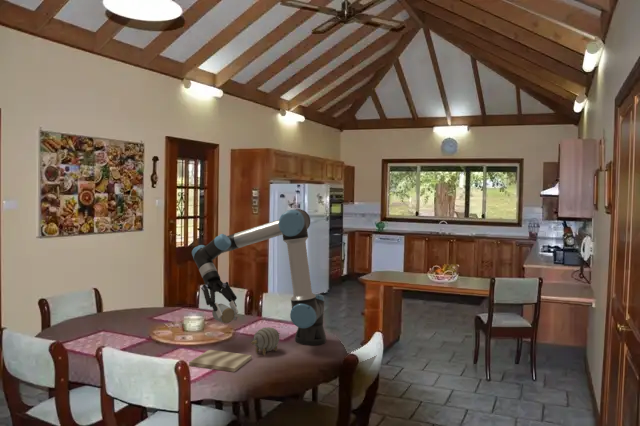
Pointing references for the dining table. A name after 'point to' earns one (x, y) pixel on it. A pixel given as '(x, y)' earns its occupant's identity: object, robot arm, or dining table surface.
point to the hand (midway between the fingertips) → (228, 315)
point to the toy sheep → (266, 339)
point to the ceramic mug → (225, 314)
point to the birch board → (220, 360)
